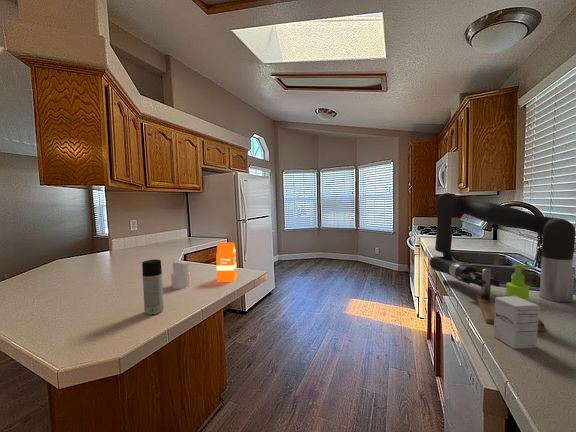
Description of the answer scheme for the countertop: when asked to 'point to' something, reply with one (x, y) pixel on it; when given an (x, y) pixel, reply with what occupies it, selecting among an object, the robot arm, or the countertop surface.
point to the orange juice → (226, 262)
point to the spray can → (152, 286)
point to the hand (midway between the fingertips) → (490, 284)
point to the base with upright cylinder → (488, 303)
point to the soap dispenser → (518, 283)
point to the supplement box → (516, 322)
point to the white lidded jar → (181, 275)
